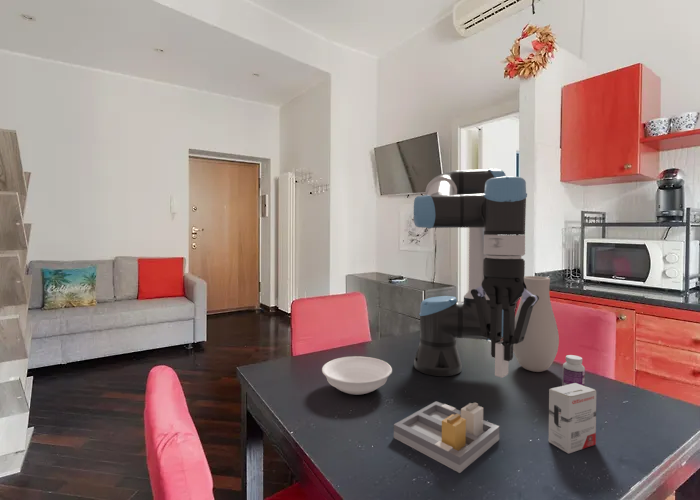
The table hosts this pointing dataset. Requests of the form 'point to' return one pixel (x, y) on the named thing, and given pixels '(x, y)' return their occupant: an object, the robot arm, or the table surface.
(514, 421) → the table surface
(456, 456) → the frame
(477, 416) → the ivory tab
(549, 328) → the vase
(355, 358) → the bowl
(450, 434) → the amber tab
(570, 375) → the pill bottle
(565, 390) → the ink box
